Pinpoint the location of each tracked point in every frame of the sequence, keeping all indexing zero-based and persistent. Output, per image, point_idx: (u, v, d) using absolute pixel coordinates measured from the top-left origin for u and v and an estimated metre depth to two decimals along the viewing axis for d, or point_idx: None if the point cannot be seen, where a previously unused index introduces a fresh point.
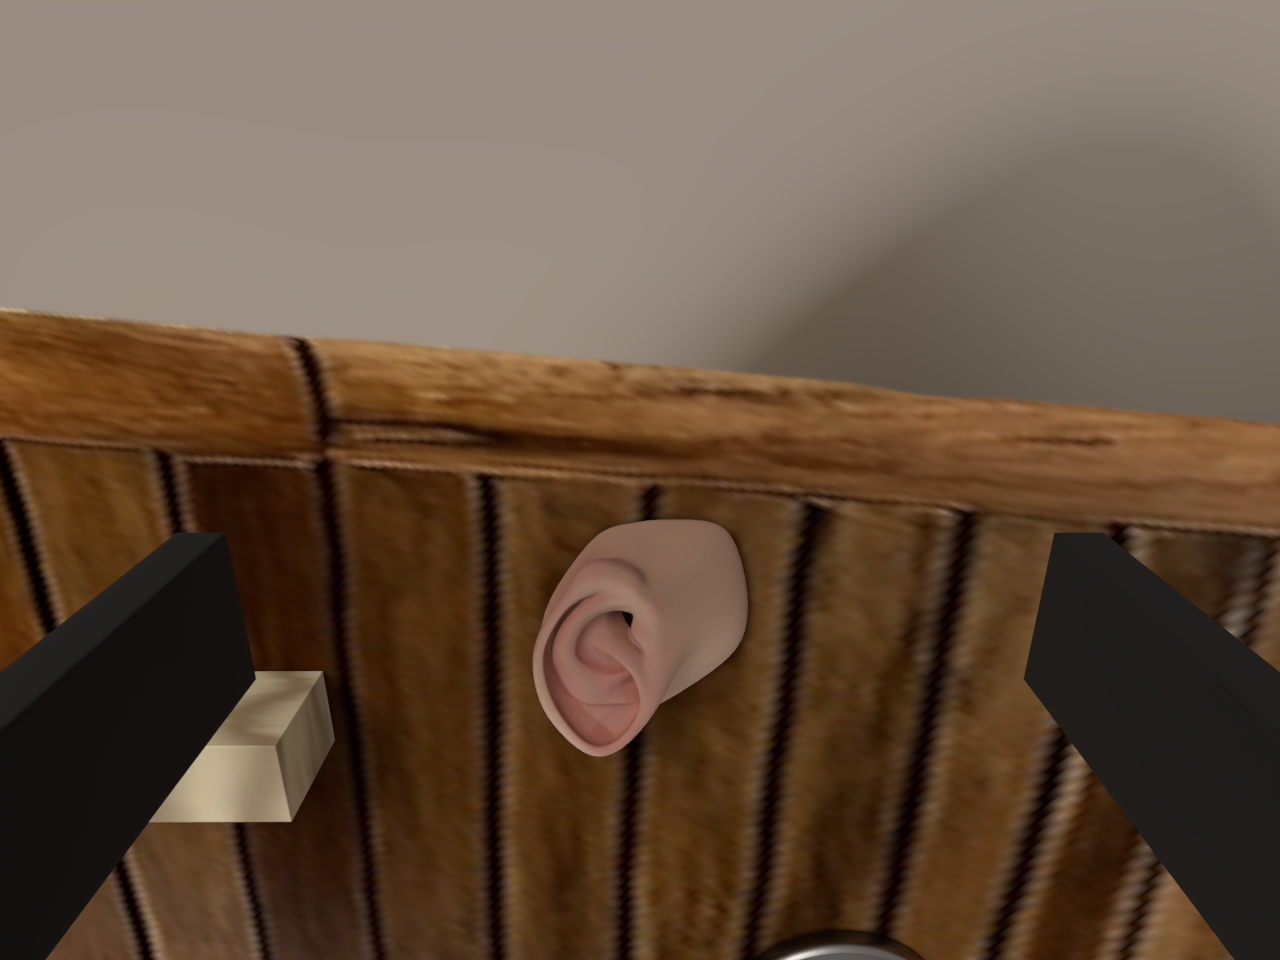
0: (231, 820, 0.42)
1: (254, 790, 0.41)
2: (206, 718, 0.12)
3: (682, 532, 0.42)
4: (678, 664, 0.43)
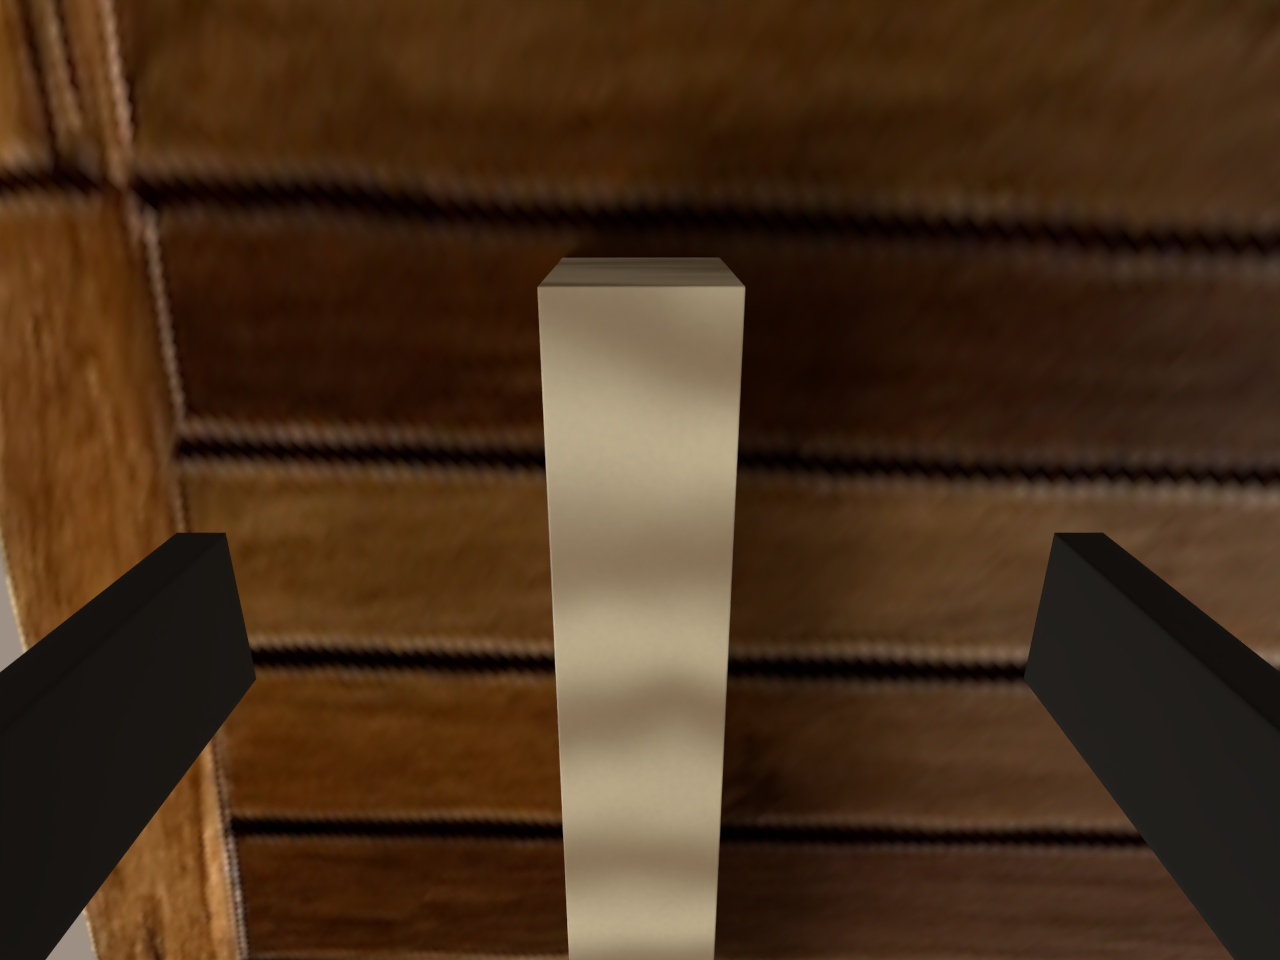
0: (734, 413, 0.20)
1: (657, 351, 0.20)
2: (206, 718, 0.12)
3: None
4: None
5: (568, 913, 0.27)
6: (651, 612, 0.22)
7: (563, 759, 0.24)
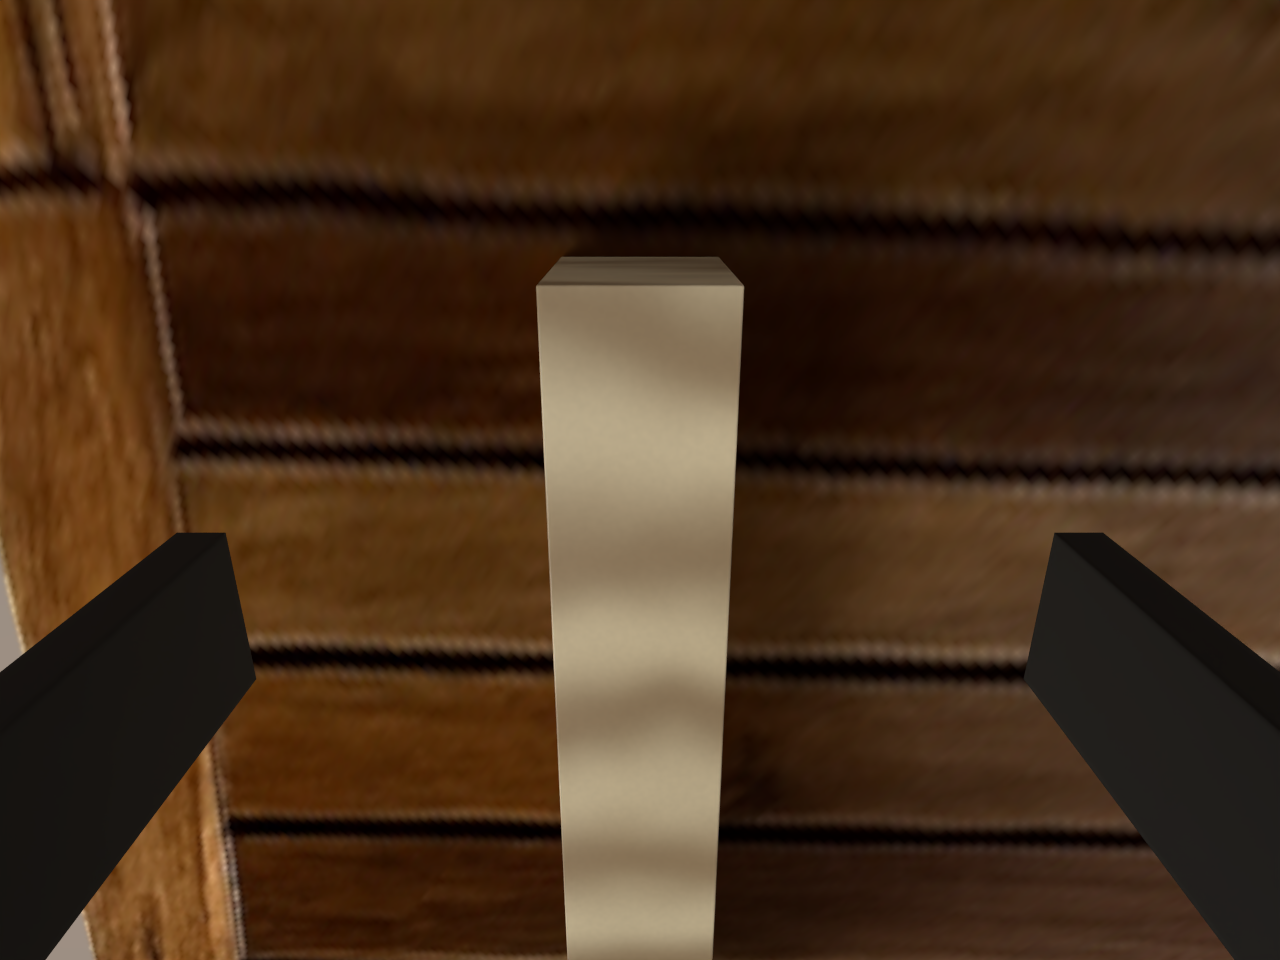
0: (733, 412, 0.20)
1: (655, 350, 0.20)
2: (206, 718, 0.12)
3: None
4: None
5: (566, 912, 0.27)
6: (649, 612, 0.22)
7: (561, 759, 0.24)
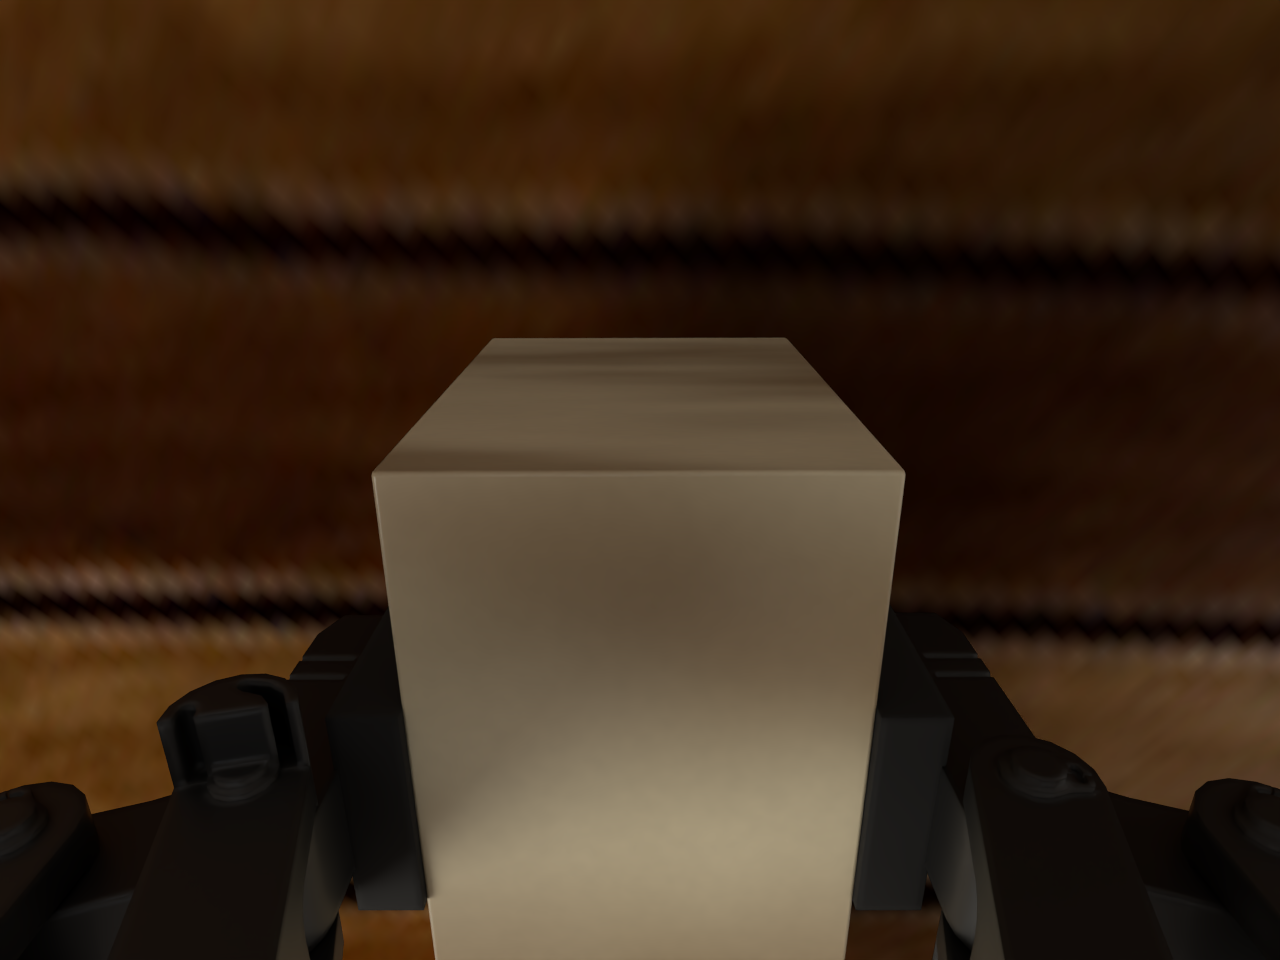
0: (860, 749, 0.09)
1: (677, 620, 0.08)
2: None
3: None
4: None
5: None
6: None
7: None
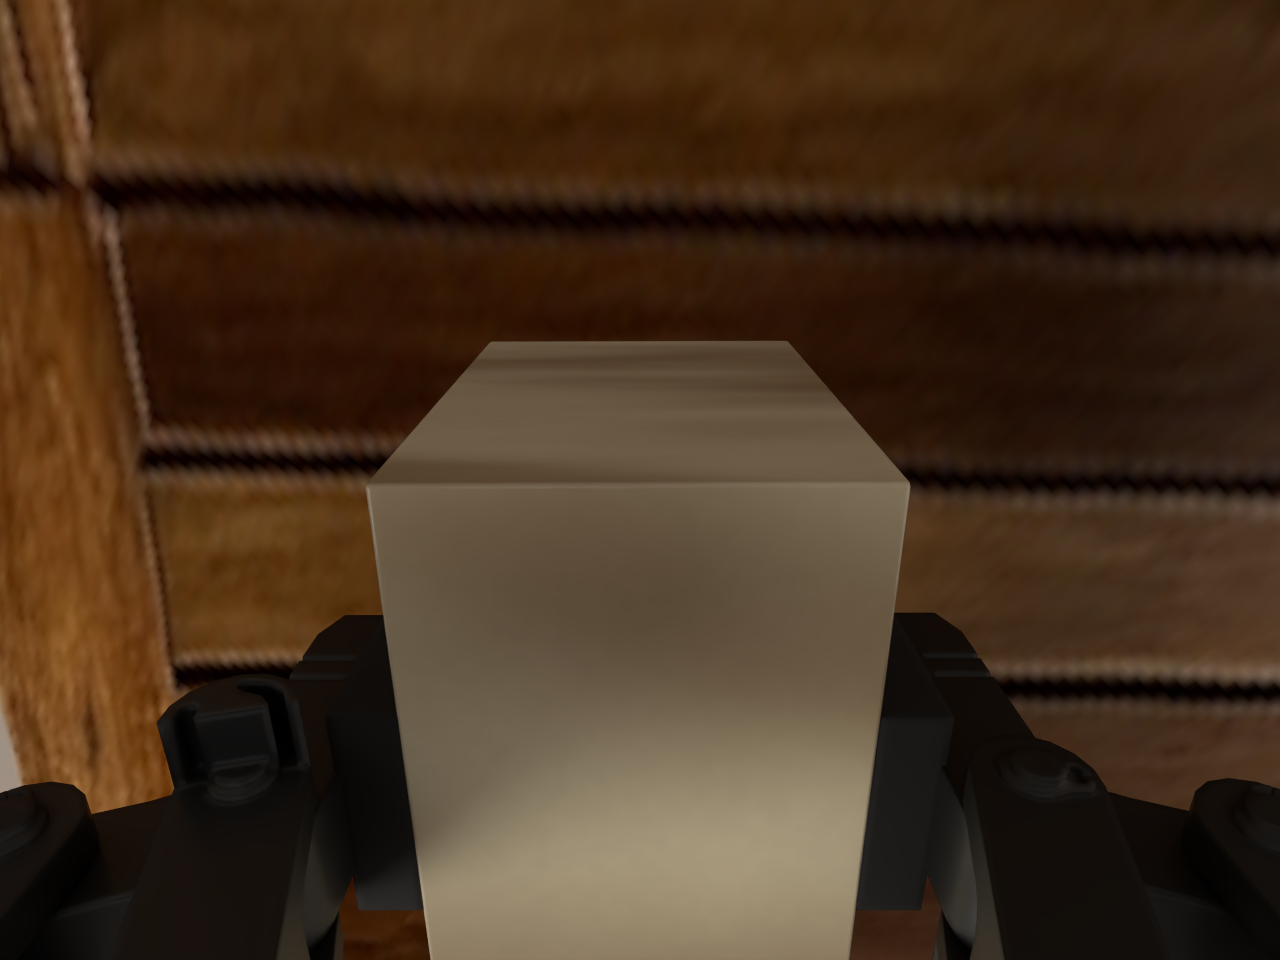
0: (863, 763, 0.08)
1: (677, 632, 0.08)
2: None
3: None
4: None
5: None
6: None
7: None
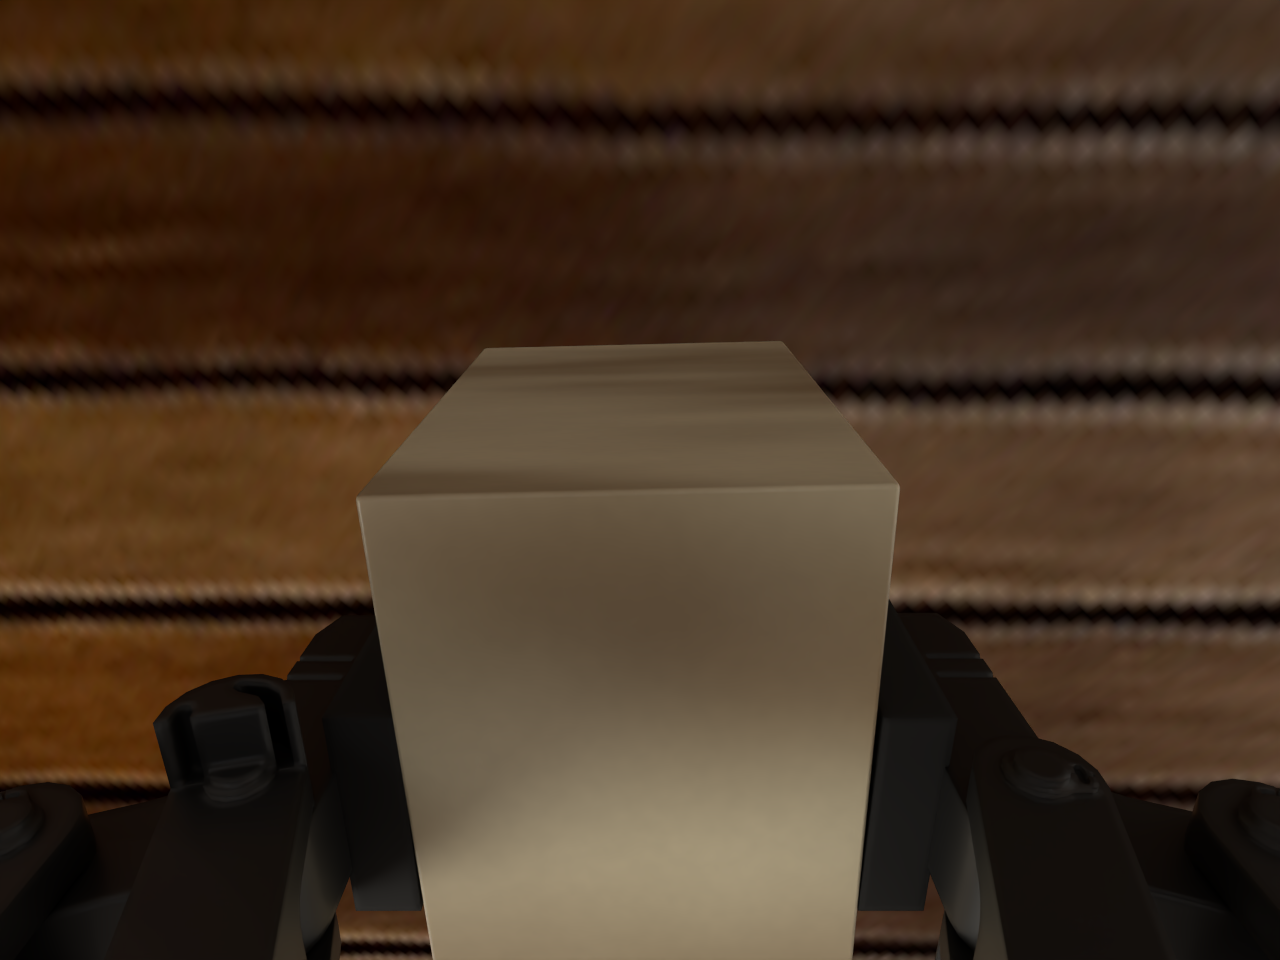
0: (860, 765, 0.08)
1: (670, 638, 0.08)
2: None
3: None
4: None
5: None
6: None
7: None
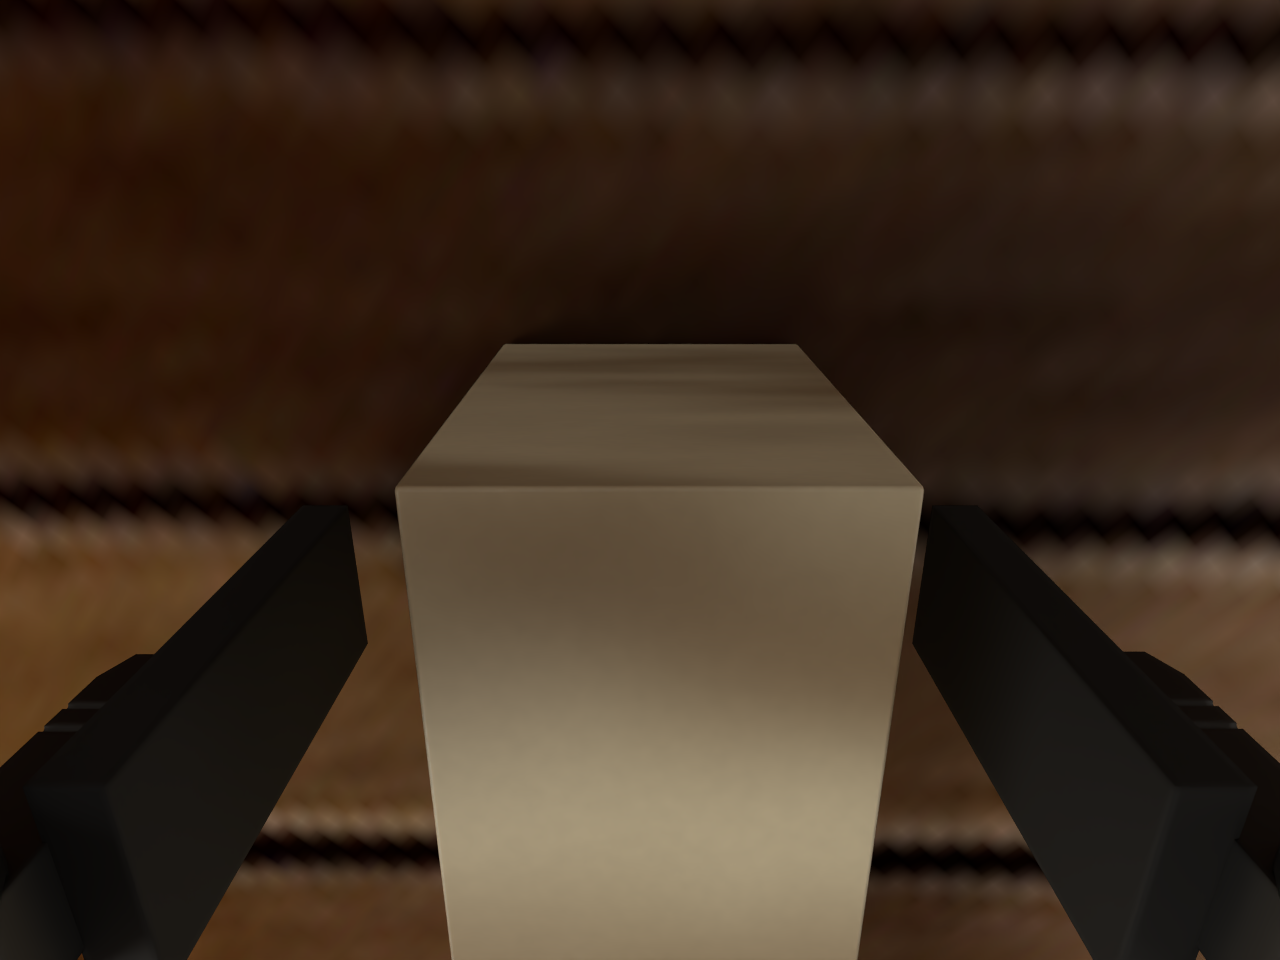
0: (875, 759, 0.09)
1: (696, 632, 0.08)
2: (335, 675, 0.13)
3: None
4: None
5: None
6: None
7: None
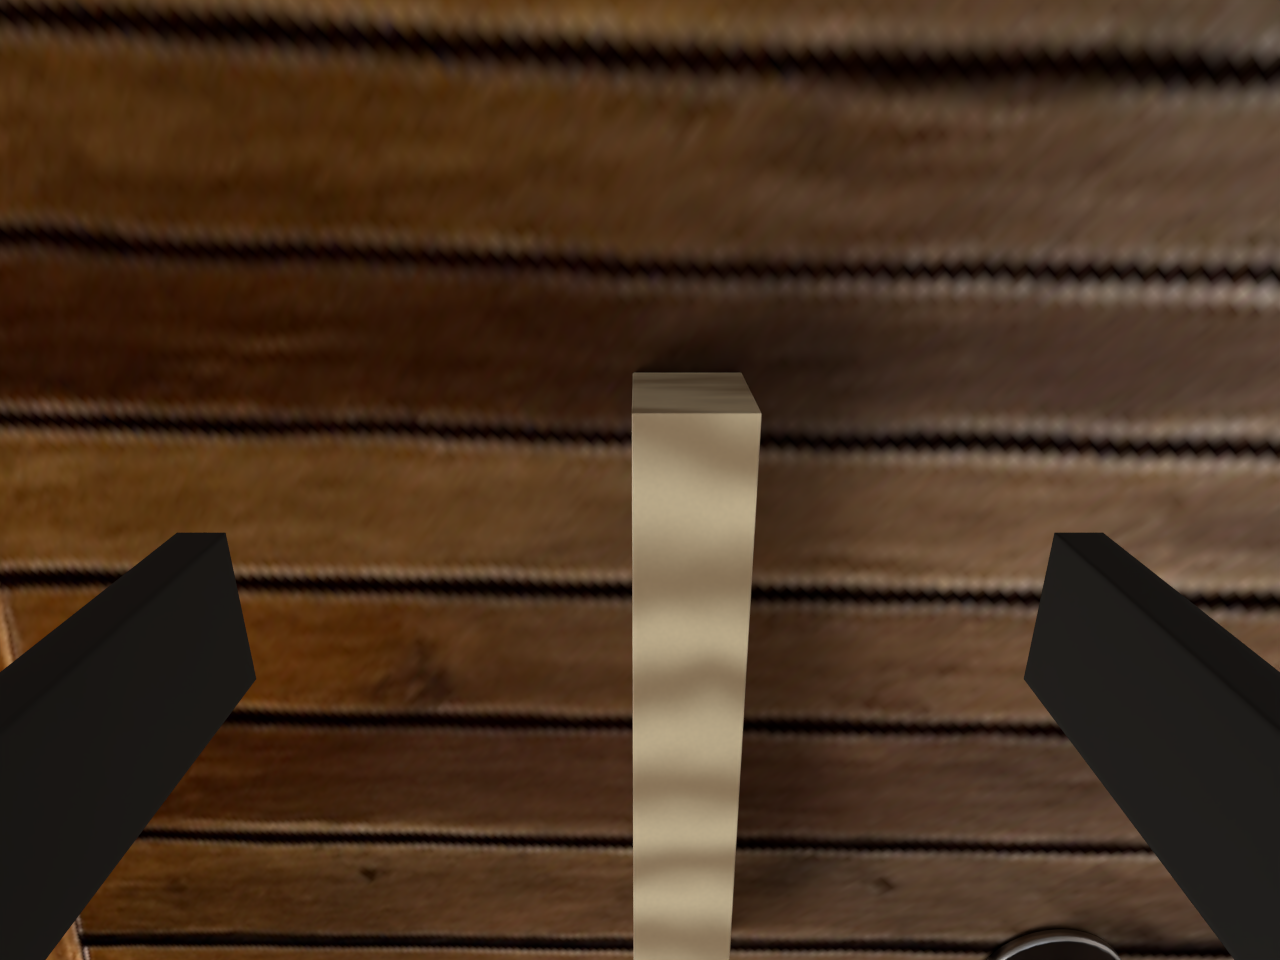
0: (754, 489, 0.32)
1: (705, 451, 0.31)
2: (206, 718, 0.12)
3: None
4: None
5: (634, 825, 0.38)
6: (697, 616, 0.34)
7: (635, 715, 0.36)
